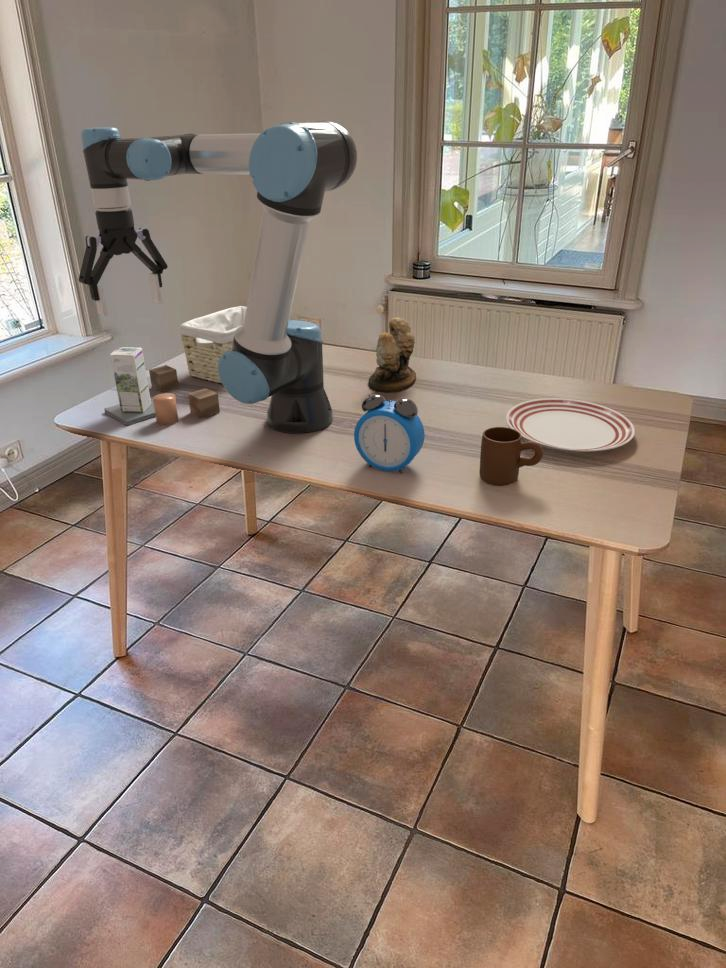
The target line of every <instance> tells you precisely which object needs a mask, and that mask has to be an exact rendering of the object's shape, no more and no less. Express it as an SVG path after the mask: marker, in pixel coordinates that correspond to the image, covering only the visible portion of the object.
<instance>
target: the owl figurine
mask: <svg viewBox="0 0 726 968" xmlns="http://www.w3.org/2000/svg"><path fill="white" fill-rule="evenodd" d="M388 328H389V332H381V333H379V334H378V339H377V343H376V347H375V353H376V355H375V357H376V359H375V360H376V364H377V365H378V366H377V367H376V368H375V371H374V372H373V373H372V374H371V375H370V376H369V378H368V386H369V388H371V389H373V391H376V392H380V393H398V392H401V391H405V390H406V389H407V390H408V388H411V386H413V385H414V384H415V382H416V380H417V373H416V372H415V370H414V369H413V368H411V367H410V366H409V364H410V360H411V357H412V356H411V355H413V353H414V348H415V343H416V342H415V340H416V339H415V334H414V332H413V331H412V330H411V329H412V328H411V326H410V324H409V322H408V321H407V320H405V319H403V318H402V317H396V316H394V317H392V318H390V320H389V322H388Z"/></svg>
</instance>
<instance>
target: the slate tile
mask: <svg viewBox="0 0 726 968" xmlns="http://www.w3.org/2000/svg"><path fill="white" fill-rule="evenodd" d="M105 412H106V413H105ZM104 413H105V414H106V415H108V414H109V415H108V416H110V417H112V418H113V417H114V418H113V419H116V420H117V421H118V422H120V423H122V424H124V425H126V426H129V425H133V424H136V423H140V422H142V421H145V420H149V419H152V418H156V415H155V409H154V402H153V399H151V405H150V406H149V407H148V409H147V410H146V411H145V412H143V413H141V412H121V408H120V403H119V404H116V405H112V406H109V407H105V408H104Z"/></svg>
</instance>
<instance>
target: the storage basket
mask: <svg viewBox="0 0 726 968" xmlns="http://www.w3.org/2000/svg"><path fill="white" fill-rule="evenodd" d="M246 309H247V306H243V305H238V306H234V307H229V308H226V309H223V310H218V311H215V312H213V313H209V314H206V315H204V316H200V317H199V316H198V317H195V318H193V319H191V320H187V321H185V322H183V323H180V325H179V334H180V337H181V341H182V345H183V349H184V354H185V355H184V356H185V359H186V365H187V369H188V374H189V376H191V377H194V378H197V379H202V380H208V381H209V382H214V383H217V384H222V383H221V380H220V378H219V374H218V362H219V359H220V358H221V356H222V355H224V353H226V352H227V351H231V349H232V345H233V339H234V333H235V331H236V329H237V328H238V327H240V326H242V325H244V320H245V315H246Z"/></svg>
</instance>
